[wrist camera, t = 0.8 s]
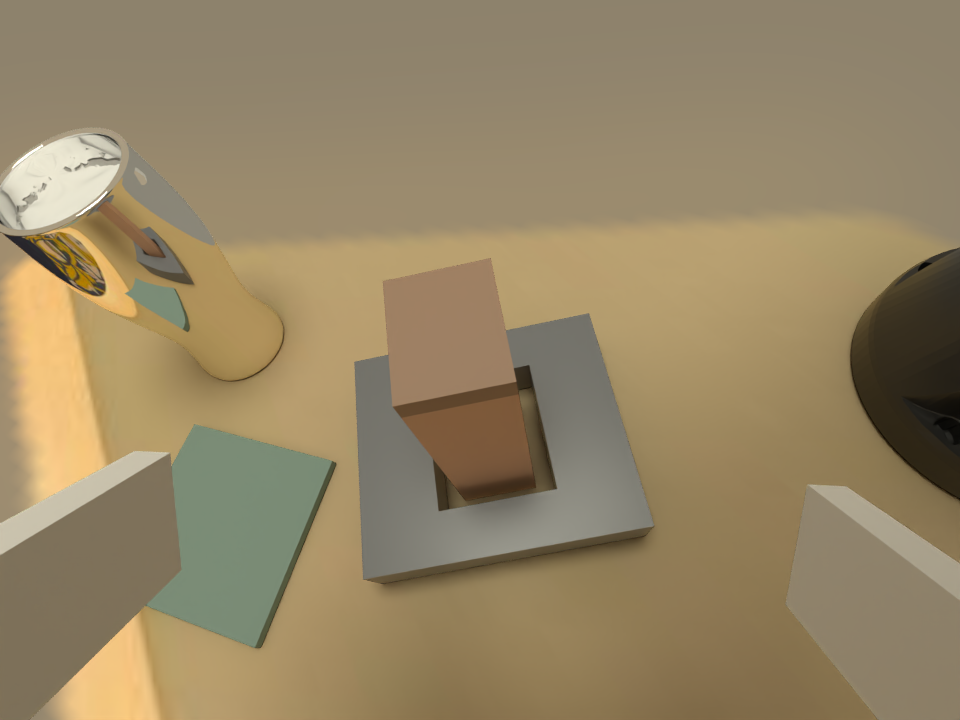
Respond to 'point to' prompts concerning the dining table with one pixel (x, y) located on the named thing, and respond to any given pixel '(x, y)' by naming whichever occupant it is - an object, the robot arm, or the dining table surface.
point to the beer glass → (134, 249)
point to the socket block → (513, 521)
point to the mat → (238, 530)
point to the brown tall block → (458, 377)
